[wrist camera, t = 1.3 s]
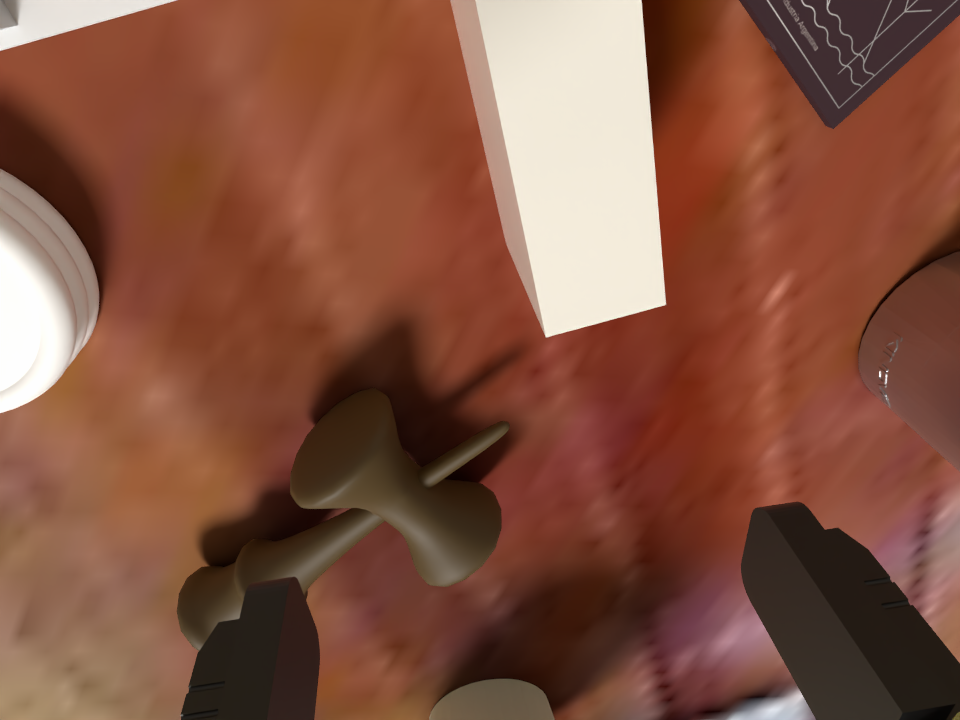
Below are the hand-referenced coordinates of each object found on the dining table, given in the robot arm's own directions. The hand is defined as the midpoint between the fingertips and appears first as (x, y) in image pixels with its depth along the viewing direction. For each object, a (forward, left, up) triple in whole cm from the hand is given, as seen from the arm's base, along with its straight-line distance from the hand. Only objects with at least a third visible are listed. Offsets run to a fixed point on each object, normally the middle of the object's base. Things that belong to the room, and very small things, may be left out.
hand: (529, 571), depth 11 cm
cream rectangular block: (-4, -3, -18) cm, 19 cm away
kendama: (+9, +13, -18) cm, 24 cm away
